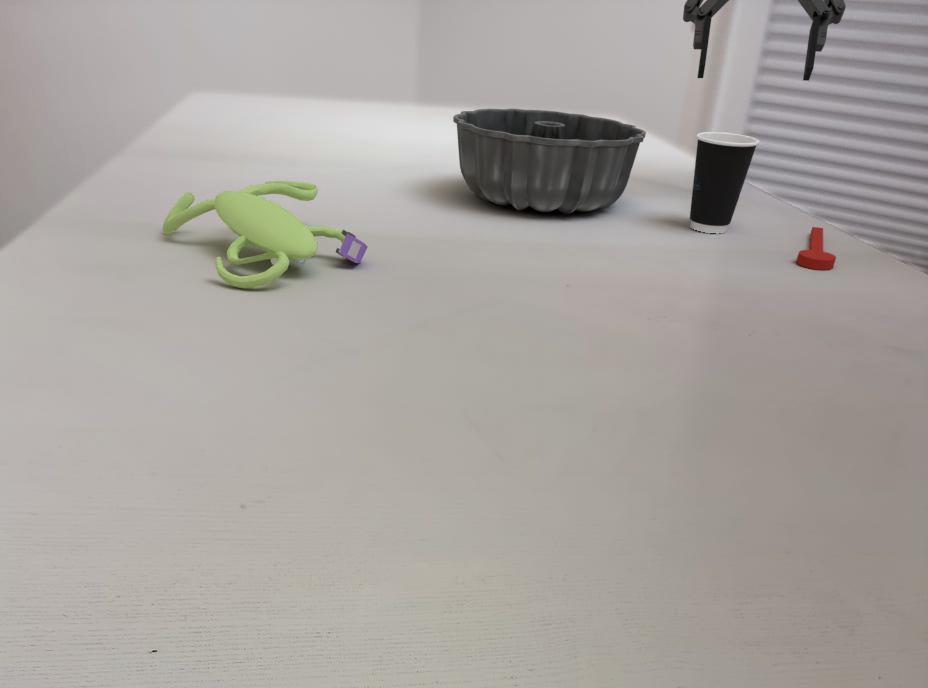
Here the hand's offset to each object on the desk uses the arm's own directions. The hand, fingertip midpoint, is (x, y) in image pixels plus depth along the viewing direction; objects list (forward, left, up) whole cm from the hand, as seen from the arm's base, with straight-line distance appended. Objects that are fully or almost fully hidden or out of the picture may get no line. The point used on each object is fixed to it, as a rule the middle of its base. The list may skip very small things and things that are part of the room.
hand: (754, 73), depth 120 cm
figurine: (+47, +49, -17) cm, 70 cm away
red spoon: (-13, +14, -17) cm, 26 cm away
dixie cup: (+1, +10, -17) cm, 20 cm away
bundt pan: (+25, +7, -17) cm, 31 cm away
